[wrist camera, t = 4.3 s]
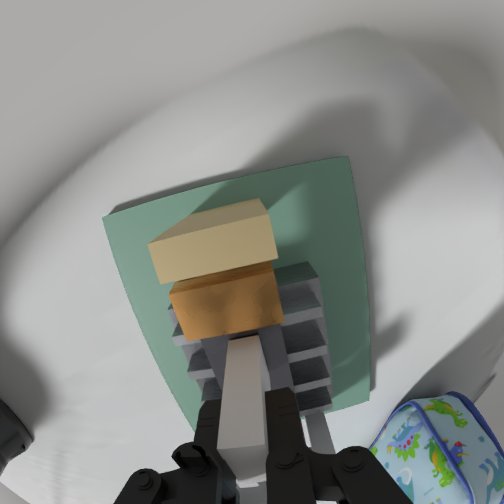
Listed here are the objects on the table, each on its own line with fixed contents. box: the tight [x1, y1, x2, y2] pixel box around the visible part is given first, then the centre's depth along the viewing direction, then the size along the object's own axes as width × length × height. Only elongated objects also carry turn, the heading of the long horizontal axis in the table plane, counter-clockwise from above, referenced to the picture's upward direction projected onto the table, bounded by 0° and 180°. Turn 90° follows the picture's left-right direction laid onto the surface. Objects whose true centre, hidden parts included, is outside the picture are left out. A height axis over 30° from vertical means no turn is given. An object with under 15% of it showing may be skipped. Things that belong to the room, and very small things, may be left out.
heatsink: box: [167, 261, 334, 417], centre depth 20 cm, size 10×11×6 cm
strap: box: [168, 260, 306, 444], centre depth 15 cm, size 4×16×2 cm, turn 13°
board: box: [102, 156, 370, 488], centre depth 18 cm, size 19×24×10 cm
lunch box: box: [369, 391, 504, 504], centre depth 19 cm, size 26×11×21 cm, turn 172°
